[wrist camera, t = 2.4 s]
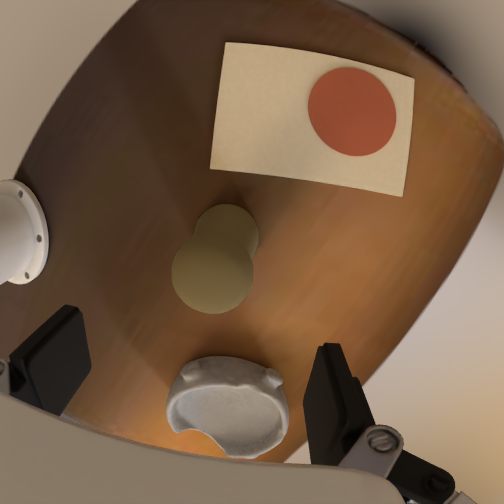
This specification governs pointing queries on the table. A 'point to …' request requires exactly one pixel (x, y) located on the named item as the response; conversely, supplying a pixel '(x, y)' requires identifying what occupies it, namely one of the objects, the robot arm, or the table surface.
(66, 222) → the table surface
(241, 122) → the placemat
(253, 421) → the dish
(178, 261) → the cork
